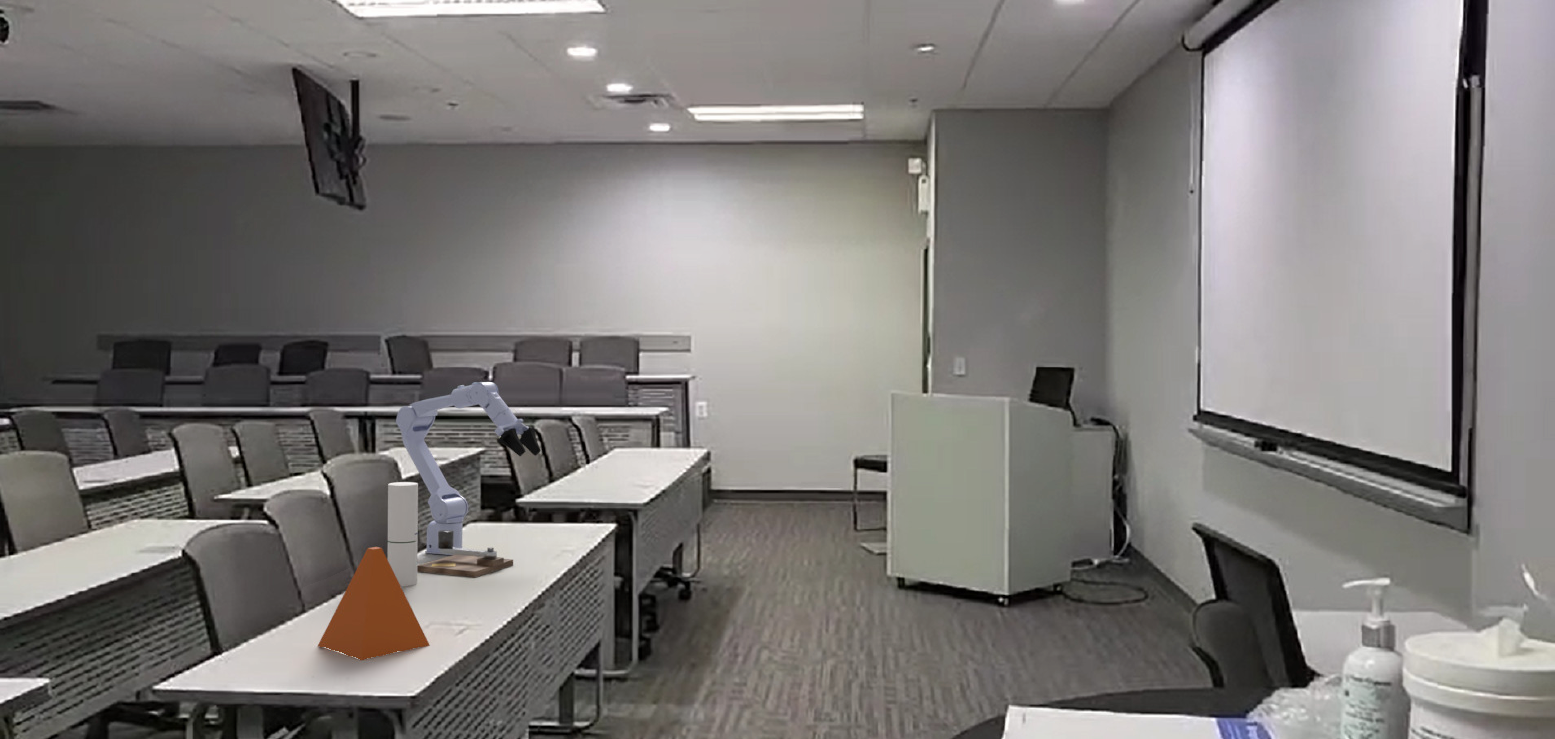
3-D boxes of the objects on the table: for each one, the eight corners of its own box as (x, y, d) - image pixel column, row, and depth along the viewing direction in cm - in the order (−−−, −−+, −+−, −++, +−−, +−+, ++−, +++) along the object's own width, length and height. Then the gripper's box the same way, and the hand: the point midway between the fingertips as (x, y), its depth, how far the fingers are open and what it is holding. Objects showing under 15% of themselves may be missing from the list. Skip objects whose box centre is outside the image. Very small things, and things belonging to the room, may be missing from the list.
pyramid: (385, 633, 263) (386, 538, 262) (430, 646, 253) (431, 548, 252) (317, 646, 251) (317, 548, 250) (361, 661, 241) (361, 558, 240)
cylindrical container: (421, 581, 315) (422, 482, 314) (410, 586, 308) (411, 486, 307) (394, 580, 315) (395, 481, 315) (382, 585, 308) (383, 485, 307)
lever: (499, 556, 332) (500, 534, 332) (491, 558, 328) (491, 536, 328) (443, 551, 338) (444, 529, 338) (434, 553, 334) (435, 531, 334)
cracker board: (416, 571, 327) (416, 560, 327) (456, 559, 344) (456, 548, 344) (476, 577, 320) (477, 565, 320) (514, 565, 337) (514, 554, 337)
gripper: (496, 406, 337) (525, 444, 333) (526, 407, 351) (553, 443, 347) (480, 424, 339) (508, 461, 335) (509, 424, 352) (537, 460, 349)
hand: (530, 453), depth 341 cm, fingers open, 7 cm apart
